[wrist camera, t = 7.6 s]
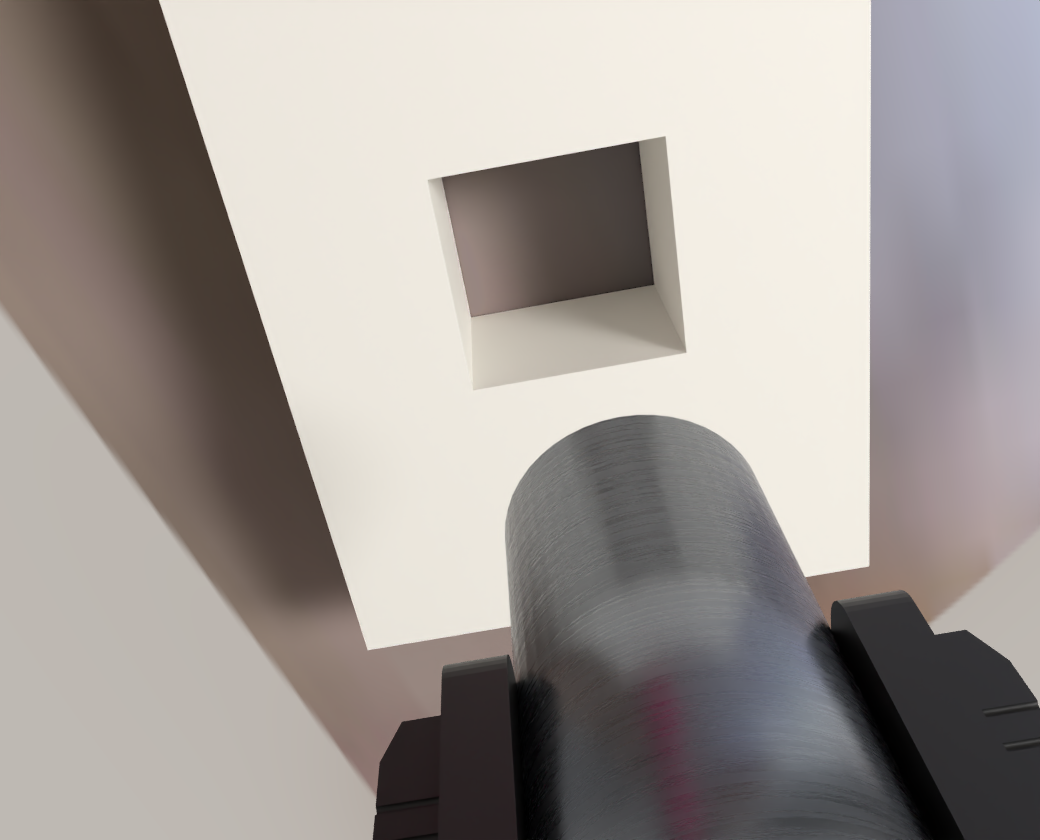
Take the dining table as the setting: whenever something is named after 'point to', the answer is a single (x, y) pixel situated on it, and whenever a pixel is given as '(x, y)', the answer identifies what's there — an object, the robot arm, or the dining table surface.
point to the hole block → (555, 326)
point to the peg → (680, 655)
